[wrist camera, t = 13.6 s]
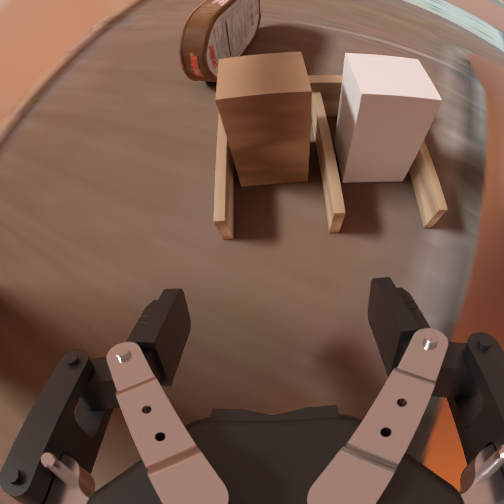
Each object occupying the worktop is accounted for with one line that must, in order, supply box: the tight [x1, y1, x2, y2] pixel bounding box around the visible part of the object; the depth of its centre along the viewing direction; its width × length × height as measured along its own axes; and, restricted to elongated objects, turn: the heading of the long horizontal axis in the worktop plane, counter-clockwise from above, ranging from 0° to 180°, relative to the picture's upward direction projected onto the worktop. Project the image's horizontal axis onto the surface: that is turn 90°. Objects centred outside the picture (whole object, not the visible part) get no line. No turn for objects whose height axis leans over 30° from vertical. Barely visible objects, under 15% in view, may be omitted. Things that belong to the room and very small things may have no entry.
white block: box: [334, 53, 442, 183], centre depth 18 cm, size 5×4×9 cm
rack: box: [214, 75, 448, 239], centre depth 21 cm, size 15×12×4 cm
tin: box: [179, 0, 261, 82], centre depth 25 cm, size 15×3×8 cm, turn 159°
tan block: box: [216, 52, 312, 187], centre depth 19 cm, size 5×4×9 cm
